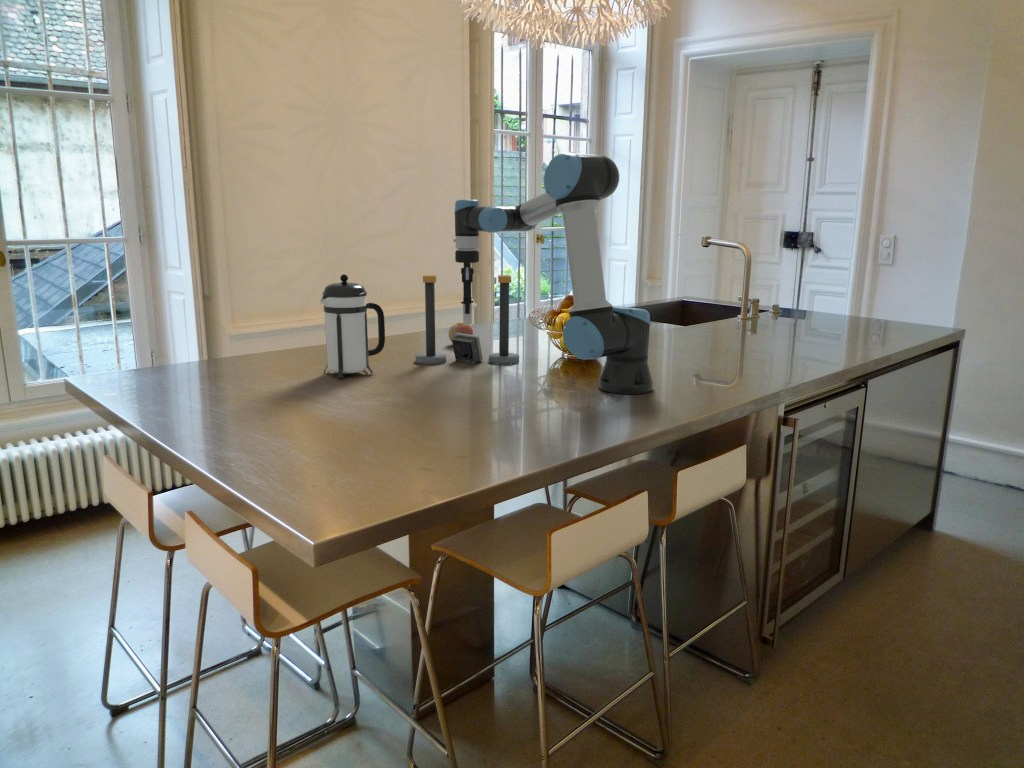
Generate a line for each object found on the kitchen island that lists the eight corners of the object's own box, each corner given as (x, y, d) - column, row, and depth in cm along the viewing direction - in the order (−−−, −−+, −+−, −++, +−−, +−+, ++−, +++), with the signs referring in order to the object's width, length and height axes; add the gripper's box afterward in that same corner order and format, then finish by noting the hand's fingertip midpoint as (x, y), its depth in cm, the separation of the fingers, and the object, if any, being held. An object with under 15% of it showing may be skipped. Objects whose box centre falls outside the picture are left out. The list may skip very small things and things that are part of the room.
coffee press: (365, 381, 220) (361, 277, 213) (314, 378, 223) (308, 276, 216) (386, 368, 237) (383, 272, 230) (338, 366, 240) (334, 270, 233)
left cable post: (445, 364, 243) (444, 277, 237) (414, 364, 243) (412, 277, 236) (446, 358, 253) (445, 274, 246) (416, 358, 253) (414, 273, 246)
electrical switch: (483, 362, 249) (481, 334, 246) (474, 366, 244) (472, 338, 242) (460, 358, 253) (458, 331, 251) (451, 362, 249) (449, 335, 246)
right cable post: (520, 364, 245) (521, 277, 238) (489, 364, 244) (489, 277, 238) (518, 358, 254) (519, 274, 248) (488, 358, 254) (488, 274, 247)
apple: (474, 343, 280) (474, 321, 278) (470, 347, 271) (470, 325, 270) (451, 342, 281) (450, 321, 279) (446, 347, 272) (446, 325, 270)
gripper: (455, 248, 246) (456, 320, 252) (454, 251, 233) (455, 326, 239) (478, 248, 247) (478, 320, 252) (479, 251, 234) (479, 326, 239)
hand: (467, 323), depth 246 cm, fingers closed
